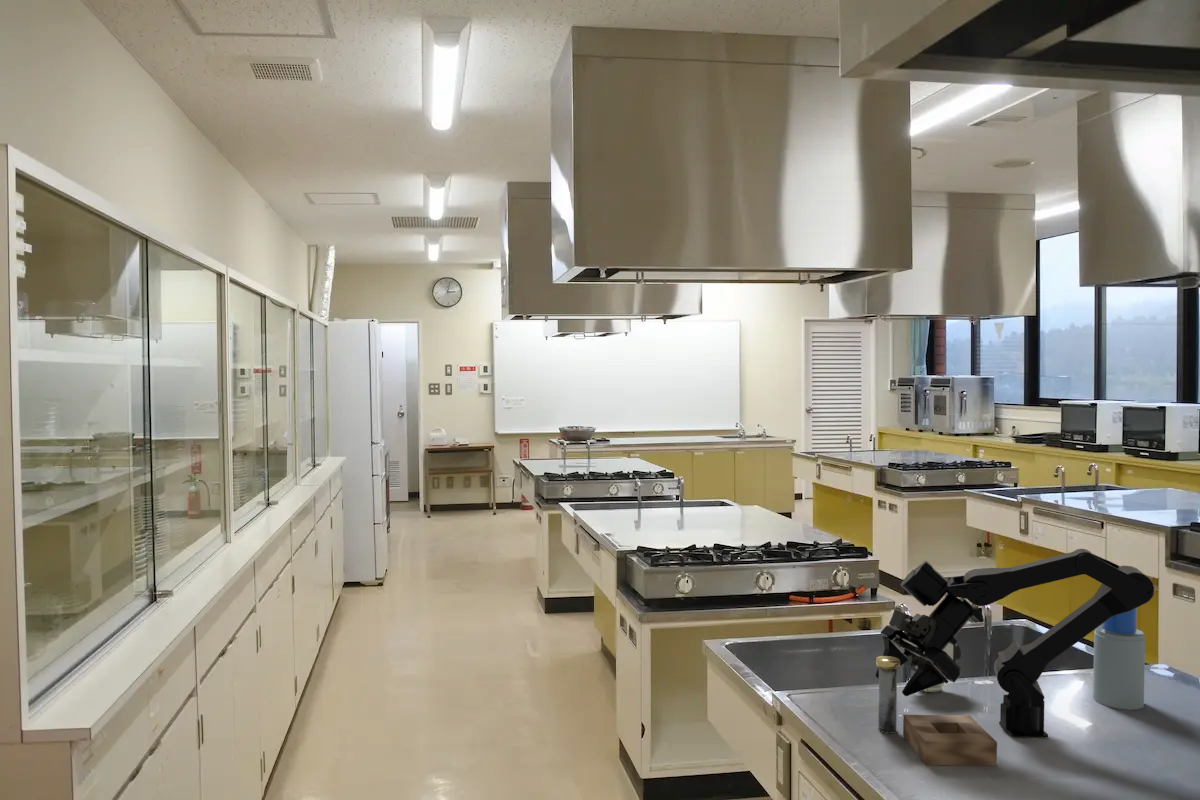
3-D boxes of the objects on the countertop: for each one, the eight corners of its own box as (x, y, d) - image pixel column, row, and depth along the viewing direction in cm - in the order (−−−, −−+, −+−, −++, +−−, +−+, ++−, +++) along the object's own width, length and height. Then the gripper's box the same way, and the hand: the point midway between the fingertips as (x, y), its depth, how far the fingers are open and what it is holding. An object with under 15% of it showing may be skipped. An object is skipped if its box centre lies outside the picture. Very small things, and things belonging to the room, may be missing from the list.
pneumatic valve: (961, 691, 188) (961, 634, 188) (912, 696, 185) (912, 638, 185) (944, 682, 193) (945, 627, 193) (896, 687, 190) (897, 631, 190)
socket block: (969, 737, 164) (969, 715, 164) (996, 765, 152) (996, 742, 152) (903, 736, 165) (903, 714, 165) (925, 764, 153) (925, 741, 153)
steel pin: (895, 725, 170) (896, 656, 169) (902, 734, 166) (902, 663, 165) (872, 725, 170) (873, 655, 169) (879, 734, 166) (879, 663, 165)
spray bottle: (1094, 690, 188) (1096, 572, 188) (1144, 699, 184) (1146, 577, 183) (1091, 703, 181) (1093, 580, 180) (1143, 713, 176) (1145, 586, 175)
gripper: (890, 583, 178) (838, 642, 175) (947, 608, 159) (889, 674, 157) (925, 621, 180) (874, 680, 177) (985, 649, 161) (929, 715, 159)
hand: (890, 685), depth 168 cm, fingers open, 9 cm apart
